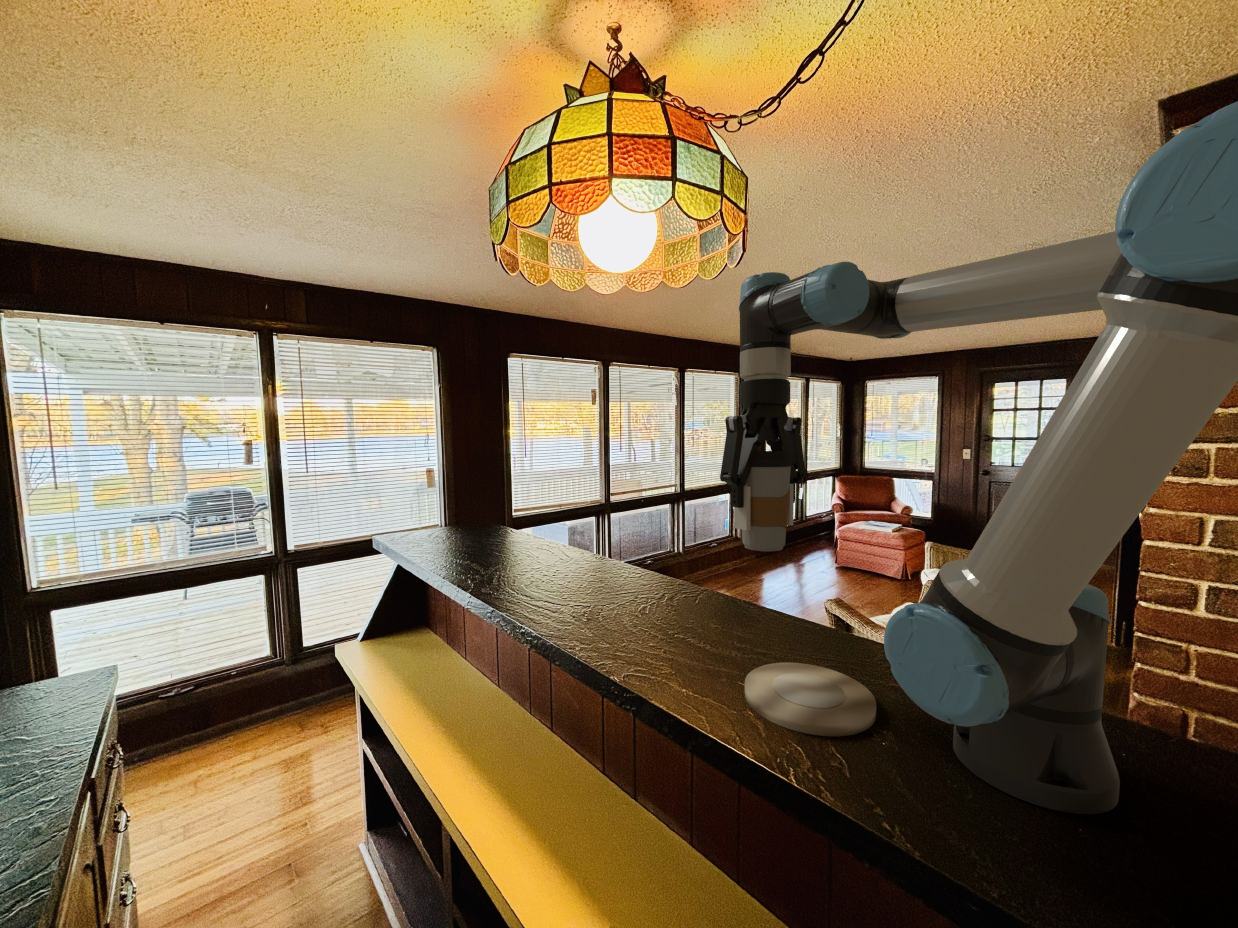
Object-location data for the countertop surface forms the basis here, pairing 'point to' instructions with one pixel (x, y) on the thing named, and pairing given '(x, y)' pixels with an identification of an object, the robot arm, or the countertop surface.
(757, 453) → the coffee cup
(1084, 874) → the countertop surface
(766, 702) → the cream round saucer
